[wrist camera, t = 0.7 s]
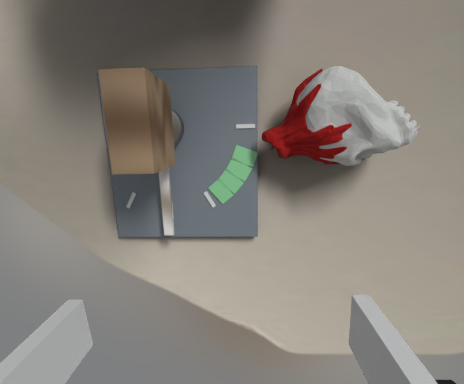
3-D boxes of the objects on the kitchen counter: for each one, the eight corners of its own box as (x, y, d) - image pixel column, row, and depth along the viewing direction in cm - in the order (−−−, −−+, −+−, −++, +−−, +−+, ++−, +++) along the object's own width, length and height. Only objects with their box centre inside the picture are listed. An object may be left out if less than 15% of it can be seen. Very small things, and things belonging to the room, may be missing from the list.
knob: (140, 92, 30) (91, 69, 20) (181, 90, 30) (151, 66, 20) (154, 230, 34) (118, 267, 24) (190, 230, 34) (169, 267, 24)
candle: (394, 137, 31) (284, 183, 34) (365, 50, 29) (251, 109, 32) (442, 142, 22) (288, 203, 26) (405, 18, 20) (243, 104, 24)
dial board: (102, 75, 31) (96, 72, 30) (257, 68, 30) (258, 65, 29) (123, 233, 36) (118, 237, 35) (257, 233, 35) (258, 236, 33)
